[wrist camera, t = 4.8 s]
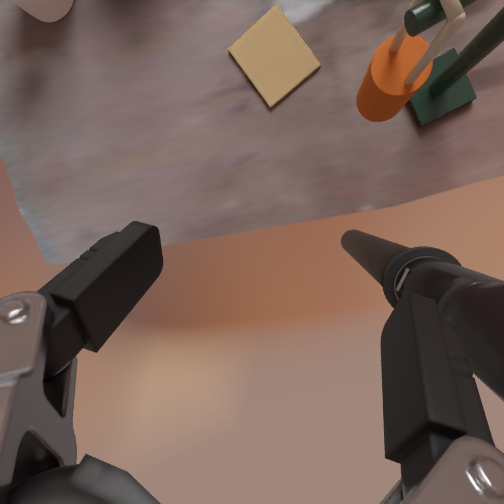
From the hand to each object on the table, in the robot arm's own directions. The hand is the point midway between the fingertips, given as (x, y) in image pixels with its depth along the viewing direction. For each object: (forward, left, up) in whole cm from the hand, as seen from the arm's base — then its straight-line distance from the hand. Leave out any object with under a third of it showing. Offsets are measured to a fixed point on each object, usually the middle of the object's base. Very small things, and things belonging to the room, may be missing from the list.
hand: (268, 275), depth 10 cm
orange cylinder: (+7, -16, -29) cm, 34 cm away
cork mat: (+25, -12, -43) cm, 51 cm away
